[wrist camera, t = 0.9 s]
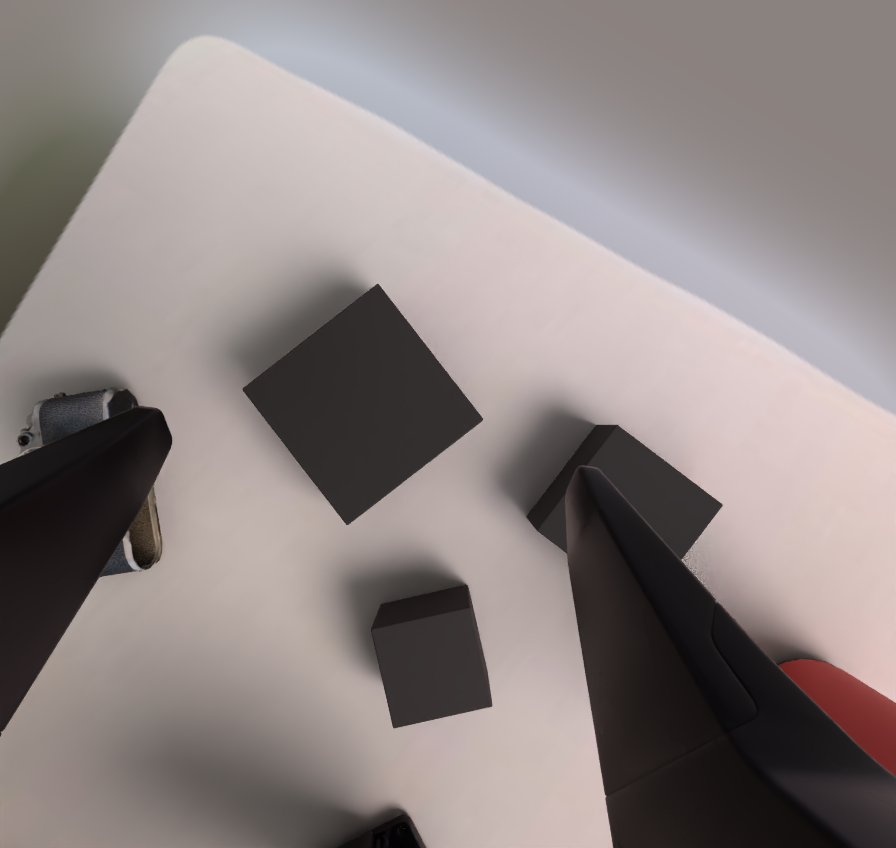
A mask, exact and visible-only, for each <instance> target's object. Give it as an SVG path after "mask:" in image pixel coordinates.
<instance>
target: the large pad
mask: <svg viewBox="0 0 896 848" xmlns="http://www.w3.org/2000/svg"><path fill="white" fill-rule="evenodd" d="M243 391H244V392H245V394H246V395H247V396H248V398H249V399H250V400H251V402H252V403H253V404H254V405H255V407H256V408H257V409H258V411H259V412H260V413H261V415H262V416H263V417H264V418H265V420H266V421H267V422H268V424H269V425H270V426H271V428H272V429H273V430H274V431H275V433H276V434H277V435H278V437H279V438H280V439H281V440H282V442H283V443H284V444H285V446H286V447H287V448H288V450H289V451H290V452H291V453H292V455H293V456H294V457H295V459H296V460H297V461H298V463H299V464H300V465H301V466H302V468H303V469H304V470H305V472H306V473H307V474H308V475H309V477H310V478H311V479H312V481H313V482H314V483H315V485H316V486H317V487H318V488H319V490H320V491H321V492H322V494H323V495H324V496H325V498H326V499H327V500H328V501H329V503H330V504H331V505H332V507H333V508H334V509H335V511H336V512H337V513H338V514H339V516H340V517H341V518H342V520H343V521H344V522H345V523H346V525H349V524H350V523H351V522H352V521H354V520H355V519H356V518H358V517H359V516H360V515H362V514H363V513H364V512H365V511H367V510H368V509H369V508H371V507H372V506H373V505H374V504H376V503H377V502H378V501H380V500H381V499H382V498H383V497H385V496H386V495H387V494H389V493H390V492H391V491H392V490H394V489H395V488H396V487H398V486H399V485H400V484H402V483H403V482H404V481H405V480H407V479H408V478H409V477H411V476H412V475H413V474H414V473H416V472H417V471H418V470H420V469H421V468H422V467H423V466H425V465H426V464H427V463H429V462H430V461H431V460H432V459H434V458H435V457H436V456H438V455H439V454H440V453H442V452H443V451H444V450H445V449H447V448H448V447H449V446H451V445H452V444H453V443H454V442H456V441H457V440H458V439H460V438H461V437H462V436H463V435H465V434H466V433H467V432H469V431H470V430H471V429H472V428H474V427H475V426H476V425H478V424H479V423H480V422H482V421H483V418H482V417H481V416H480V414H479V413H478V412H477V410H476V409H475V408H474V407H473V405H472V404H471V403H470V401H469V400H468V399H467V398H466V396H465V395H464V394H463V392H462V391H461V390H460V389H459V387H458V386H457V385H456V383H455V382H454V381H453V380H452V378H451V377H450V376H449V374H448V373H447V372H446V371H445V369H444V368H443V367H442V365H441V364H440V363H439V361H438V360H437V359H436V358H435V356H434V355H433V354H432V352H431V351H430V350H429V349H428V347H427V346H426V345H425V343H424V342H423V341H422V340H421V338H420V337H419V336H418V334H417V333H416V332H415V331H414V329H413V328H412V327H411V325H410V324H409V323H408V322H407V320H406V319H405V318H404V316H403V315H402V314H401V313H400V311H399V310H398V309H397V307H396V306H395V305H394V304H393V302H392V301H391V300H390V298H389V297H388V296H387V294H386V293H385V292H384V291H383V289H382V288H381V287H380V285H379V284H377V285H375V286H374V287H373V288H371V289H370V290H369V291H368V292H366V293H365V294H364V295H362V296H361V297H360V298H359V299H357V300H356V301H355V302H353V303H352V304H351V305H350V306H348V307H347V308H346V309H344V310H343V311H342V312H341V313H339V314H338V315H337V316H335V317H334V318H333V319H332V320H330V321H329V322H328V323H326V324H325V325H324V326H323V327H321V328H320V329H319V330H317V331H316V332H315V333H314V334H312V335H311V336H310V337H308V338H307V339H306V340H305V341H303V342H302V343H301V344H299V345H298V346H297V347H296V348H294V349H293V350H292V351H290V352H289V353H288V354H287V355H285V356H284V357H283V358H281V359H280V360H279V361H278V362H276V363H275V364H274V365H272V366H271V367H270V368H269V369H267V370H266V371H265V372H263V373H262V374H261V375H260V376H258V377H257V378H256V379H254V380H253V381H252V382H251V383H249V384H248V385H247V386H245V387H244V388H243Z"/></svg>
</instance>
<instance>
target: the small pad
mask: <svg viewBox="0 0 896 848" xmlns="http://www.w3.org/2000/svg"><path fill="white" fill-rule="evenodd" d="M371 632H372V636H373V641H374V645H375V649H376V654H377V658H378V663H379V667H380V672H381V676H382V681H383V685H384V689H385V694H386V698H387V703H388V707H389V712H390V716H391V720H392V725H393V728H397V727H402V726H407V725H411V724H416V723H420V722H425V721H429V720H434V719H438V718H443V717H447V716H452V715H456V714H461V713H465V712H470V711H474V710H479V709H483V708H488V707H492V699H491V692H490V685H489V678H488V672H487V667H486V663H485V658H484V654H483V649H482V645H481V641H480V636H479V632H478V627H477V623H476V618H475V614H474V610H473V605H472V601H471V596H470V592H469V588H468V585H464V586H460V587H455V588H451V589H446V590H442V591H437V592H433V593H428V594H424V595H420V596H415V597H411V598H406V599H402V600H397V601H393V602H388V603H384V604H381V606H380V608H379V611H378V613H377V616H376V618H375V621H374V623H373V626H372V628H371Z"/></svg>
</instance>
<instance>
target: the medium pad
mask: <svg viewBox="0 0 896 848" xmlns="http://www.w3.org/2000/svg"><path fill="white" fill-rule="evenodd" d="M582 465H583V466H590V467H596V468H598V469H600V470H601V471H602V473H603V474H604V475H605V476H606V477H607V478H608V479H609V480H610V482H611V483H612V484H613V485H614V486H615V487H616V488H617V489H618V491H619V492H620V493H621V494H622V495H623V496H624V497H625V498H626V499H627V501H628V502H629V503H630V504H631V505H632V506H633V507H634V508H635V510H636V511H637V512H638V513H639V514H640V515H641V516H642V517H643V518H644V520H645V521H646V522H647V523H648V524H649V525H650V526H651V527H652V529H653V530H654V531H655V532H656V533H657V534H658V535H659V536H660V537H661V539H662V540H663V541H664V542H665V543H666V544H667V545H668V546H669V548H670V549H671V550H672V551H673V552H674V553H675V554H676V555H677V556H678V558H679V559H680V560H682V558H683V557H684V556H685V554H686V553H687V552H688V550H689V549H690V548H691V547H692V545H693V544H694V543H695V541H696V540H697V539H698V537H699V536H700V535H701V533H702V532H703V531H704V529H705V528H706V527H707V525H708V524H709V523H710V522H711V520H712V519H713V518H714V516H715V515H716V514H717V512H718V511H719V510H720V508H721V507H722V506H723V505H722V504H721V503H720V502H718V501H717V500H716V499H715V498H713V497H712V496H711V495H709V494H708V493H707V492H705V491H704V490H703V489H701V488H700V487H699V486H697V485H696V484H695V483H693V482H692V481H691V480H689V479H688V478H687V477H685V476H684V475H683V474H681V473H680V472H679V471H677V470H676V469H675V468H674V467H672V466H671V465H670V464H668V463H667V462H666V461H664V460H663V459H662V458H660V457H659V456H658V455H656V454H655V453H654V452H652V451H651V450H650V449H648V448H647V447H646V446H644V445H643V444H642V443H640V442H639V441H638V440H637V439H635V438H634V437H633V436H631V435H630V434H629V433H627V432H626V431H625V430H623V429H622V428H621V427H619V426H618V425H596V426H595V428H594V429H593V430H592V431H591V433H590V434H589V435H588V437H587V438H586V439H585V441H584V442H583V443H582V445H581V446H580V447H579V449H578V450H577V451H576V453H575V454H574V455H573V456H572V458H571V459H570V460H569V462H568V463H567V464H566V466H565V467H564V468H563V470H562V471H561V472H560V474H559V475H558V476H557V478H556V479H555V480H554V481H553V483H552V484H551V485H550V487H549V488H548V489H547V491H546V492H545V493H544V495H543V496H542V497H541V499H540V500H539V501H538V503H537V504H536V505H535V506H534V508H533V509H532V510H531V512H530V513H529V514H528V516H527V519H528V520H529V521H530V522H531V524H532V525H533V526H534V527H535V529H536V530H537V531H538V532H540V533H541V534H542V535H544V536H545V537H546V538H547V539H549V540H550V541H551V542H553V543H554V544H555V545H557V546H558V547H559V548H561V549H562V550H563V551H565V552H566V553H567V532H566V508H565V495H566V491H567V488H568V486H569V484H570V482H571V479H572V477H573V475H574V473H575V471H576V469H577V468H578V467H579V466H582Z"/></svg>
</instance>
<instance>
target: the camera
mask: <svg viewBox="0 0 896 848" xmlns="http://www.w3.org/2000/svg"><path fill="white" fill-rule="evenodd" d="M54 397H55V398H51V399H46V400H43V401H39V402H38V403H37V404H36V405H35V407H34V409H33V414H31V415H29V416H28V417H27V424H28V426H29V428H28V429H26V428H25V429H22V430H21V431H20V434H19V435H18V438H17V443H18V446H19V447H20V448H21V454H20V455H19V456H18V457H20V456H22V455H24V454H27V453H29V452H31V451H34V450H36V449H38V448H41V447H43V446H45V445H48V444H50V443H52V442H55V441H57V440H59V439H61V438H64V437H66V436H68V435H71V434H73V433H75V432H78V431H80V430H82V429H85V428H87V427H89V426H92V425H94V424H96V423H99V422H101V421H103V420H106V419H108V418H110V417H112V416H115V415H117V414H119V413H122V412H124V411H126V410H129V409H131V408H133V407H136V406H138V402H137V400H136V398H135V397H134V396H133V395H132V394H131V393H130V392H129V391H128V390H127V389H118V388H110V389H108V390H106V389H104V390H102V391H94V392H87V393H80V394H76V395H69V396H66V394H65V393H59V394H55V395H54ZM161 553H162V538H161V533H160V526H159V518H158V514H157V508H156V499H155V494H154V489H153V486H152V489H151V491H150V493H149V495H148V497H147V499H146V501H145V503H144V505H143V507H142V509H141V510H140V512H139V514H138V515H137V517H136V519H135V520H134V522H133V524H132V525H131V527H130V528H129V530H128V532H127V533H126V535H125V536H124V538H123V540H122V541H121V543H120V544H119V546H118V548H117V549H116V551H115V552H114V554H113V556H112V557H111V559H110V561H109V562H108V564H107V565H106V567H105V569H104V570H103V572H102V573H101V575H100V577H102V576H108V575H114V574H121V573H127V572H134V571H139V572H140V571H143V570H146V569H149V568H151V566H152V565H153V564H154V563H157V562H158V561H159V560H160V557H161Z"/></svg>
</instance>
